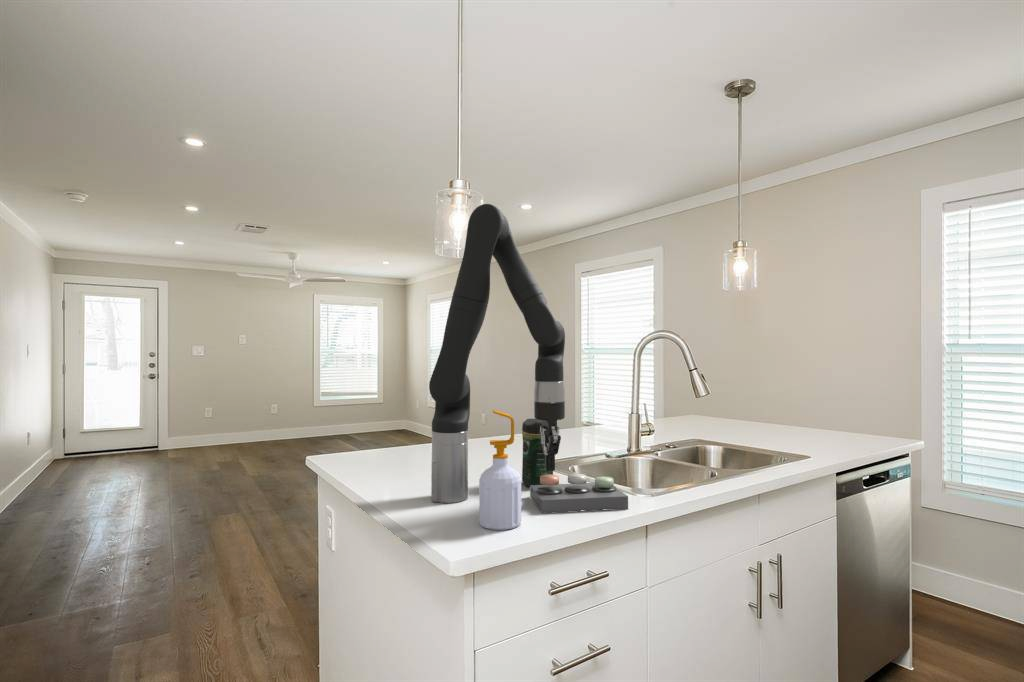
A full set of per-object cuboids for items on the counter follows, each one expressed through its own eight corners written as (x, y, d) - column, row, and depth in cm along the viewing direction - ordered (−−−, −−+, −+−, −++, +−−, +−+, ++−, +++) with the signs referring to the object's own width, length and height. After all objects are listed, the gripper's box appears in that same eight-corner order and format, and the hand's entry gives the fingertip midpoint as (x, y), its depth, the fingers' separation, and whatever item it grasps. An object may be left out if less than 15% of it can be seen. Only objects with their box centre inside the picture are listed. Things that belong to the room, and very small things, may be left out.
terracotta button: (542, 485, 127) (542, 479, 127) (538, 481, 131) (538, 474, 131) (561, 485, 127) (560, 478, 127) (556, 480, 132) (556, 474, 132)
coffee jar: (557, 488, 145) (557, 420, 145) (530, 490, 142) (530, 421, 143) (544, 480, 154) (544, 416, 154) (518, 482, 151) (518, 417, 152)
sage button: (598, 487, 129) (598, 481, 129) (592, 483, 133) (592, 476, 133) (616, 487, 130) (616, 480, 130) (609, 482, 134) (609, 476, 134)
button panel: (541, 513, 122) (541, 498, 122) (530, 497, 135) (530, 483, 136) (628, 509, 125) (628, 494, 125) (608, 493, 139) (608, 480, 139)
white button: (570, 484, 128) (570, 478, 128) (565, 480, 132) (565, 473, 132) (588, 483, 128) (588, 477, 128) (583, 479, 133) (583, 473, 133)
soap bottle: (478, 518, 118) (479, 408, 119) (519, 517, 119) (519, 408, 120) (479, 531, 109) (480, 412, 110) (523, 530, 110) (523, 412, 111)
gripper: (529, 397, 136) (529, 465, 135) (540, 402, 123) (540, 477, 122) (557, 397, 137) (558, 464, 136) (571, 401, 124) (572, 475, 123)
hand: (550, 470), depth 129 cm, fingers closed
